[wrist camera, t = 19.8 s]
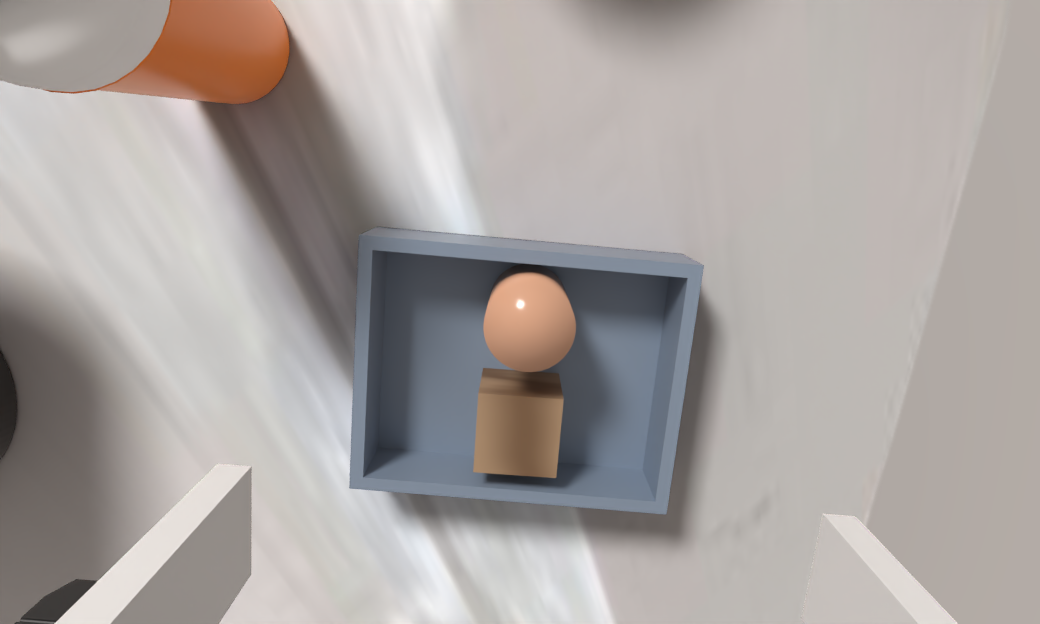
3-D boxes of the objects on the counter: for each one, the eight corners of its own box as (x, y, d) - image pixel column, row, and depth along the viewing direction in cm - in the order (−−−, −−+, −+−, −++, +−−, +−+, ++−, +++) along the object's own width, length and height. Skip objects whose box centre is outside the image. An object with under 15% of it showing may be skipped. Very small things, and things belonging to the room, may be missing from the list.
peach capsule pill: (486, 335, 43) (479, 367, 36) (492, 259, 42) (487, 278, 35) (562, 342, 43) (570, 375, 36) (571, 267, 42) (580, 286, 35)
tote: (367, 453, 46) (349, 488, 41) (377, 226, 42) (358, 234, 37) (651, 477, 46) (666, 514, 41) (682, 254, 43) (703, 265, 38)
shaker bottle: (335, 67, 40) (160, -27, 21) (219, 148, 41) (-52, 133, 22) (245, -70, 39) (-38, -312, 19) (126, 19, 40) (-257, -123, 20)
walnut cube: (478, 438, 45) (473, 472, 40) (483, 367, 44) (478, 393, 39) (552, 444, 45) (556, 478, 40) (558, 373, 44) (563, 399, 39)
